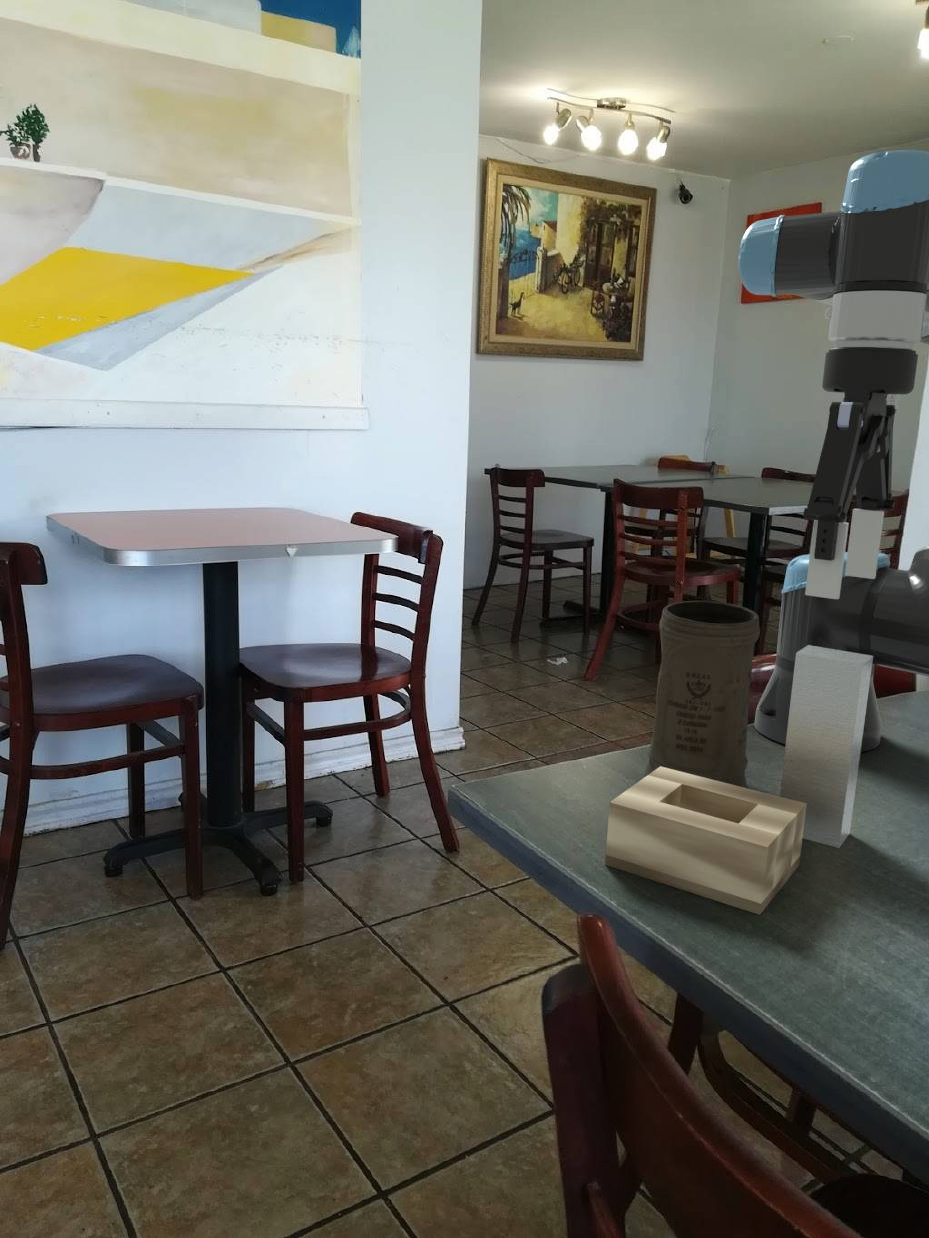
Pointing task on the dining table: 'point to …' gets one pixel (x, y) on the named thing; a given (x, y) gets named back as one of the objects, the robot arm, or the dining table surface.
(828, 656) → the tall grey pillar
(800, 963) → the dining table surface
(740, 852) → the well block
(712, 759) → the beer stein
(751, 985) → the dining table surface
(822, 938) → the dining table surface
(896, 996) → the dining table surface
